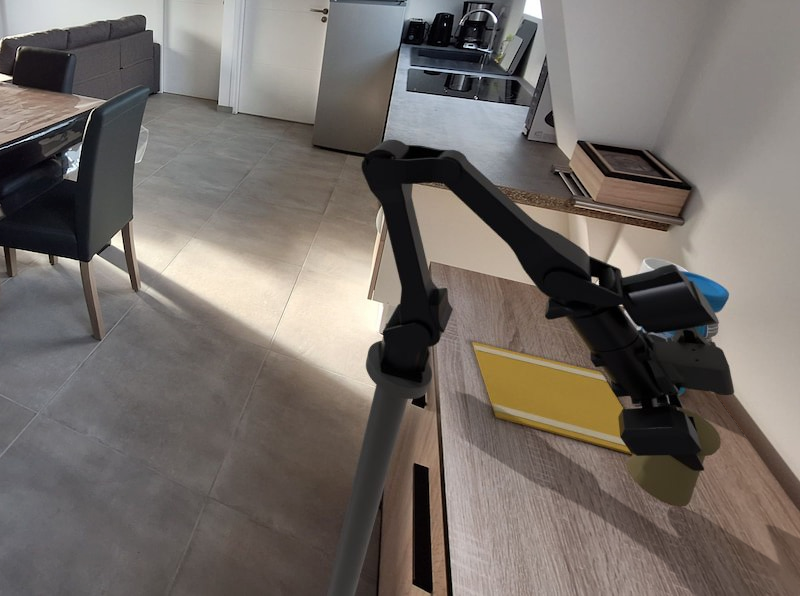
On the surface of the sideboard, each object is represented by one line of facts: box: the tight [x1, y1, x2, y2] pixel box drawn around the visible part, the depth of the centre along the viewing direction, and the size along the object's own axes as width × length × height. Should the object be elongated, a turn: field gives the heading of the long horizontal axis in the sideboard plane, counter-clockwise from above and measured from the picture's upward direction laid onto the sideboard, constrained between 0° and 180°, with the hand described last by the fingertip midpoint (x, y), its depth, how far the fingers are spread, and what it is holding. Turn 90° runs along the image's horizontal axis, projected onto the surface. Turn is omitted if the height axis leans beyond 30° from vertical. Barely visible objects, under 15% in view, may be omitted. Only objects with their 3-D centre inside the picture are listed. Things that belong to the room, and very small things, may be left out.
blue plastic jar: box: [636, 271, 730, 397], centre depth 75 cm, size 8×8×20 cm
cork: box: [625, 407, 722, 508], centre depth 56 cm, size 6×6×11 cm
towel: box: [471, 341, 633, 456], centre depth 74 cm, size 20×16×1 cm
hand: (694, 453), depth 55 cm, fingers closed on cork, 5 cm apart
